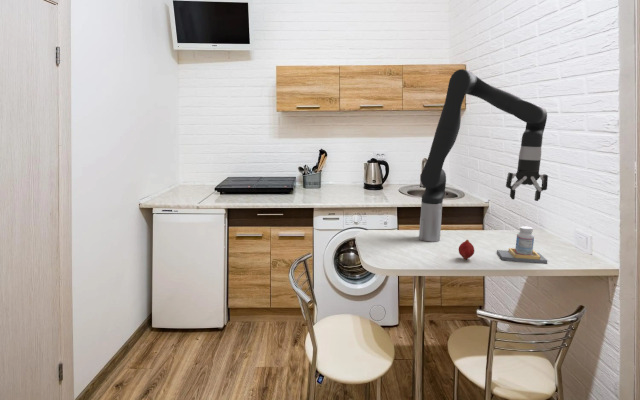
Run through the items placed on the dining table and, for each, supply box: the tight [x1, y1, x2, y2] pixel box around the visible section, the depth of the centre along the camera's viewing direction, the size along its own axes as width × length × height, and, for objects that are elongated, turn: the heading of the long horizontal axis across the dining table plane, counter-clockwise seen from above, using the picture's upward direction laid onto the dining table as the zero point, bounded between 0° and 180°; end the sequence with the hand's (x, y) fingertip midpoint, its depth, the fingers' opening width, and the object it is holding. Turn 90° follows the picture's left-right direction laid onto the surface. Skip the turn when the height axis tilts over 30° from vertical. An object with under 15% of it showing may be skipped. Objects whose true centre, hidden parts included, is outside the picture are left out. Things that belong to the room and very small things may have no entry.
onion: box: [458, 239, 475, 260], centre depth 156 cm, size 6×6×8 cm
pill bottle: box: [514, 225, 535, 256], centre depth 158 cm, size 6×6×11 cm
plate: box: [496, 247, 548, 264], centre depth 159 cm, size 16×10×2 cm, turn 79°
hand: (524, 199), depth 157 cm, fingers open, 8 cm apart
